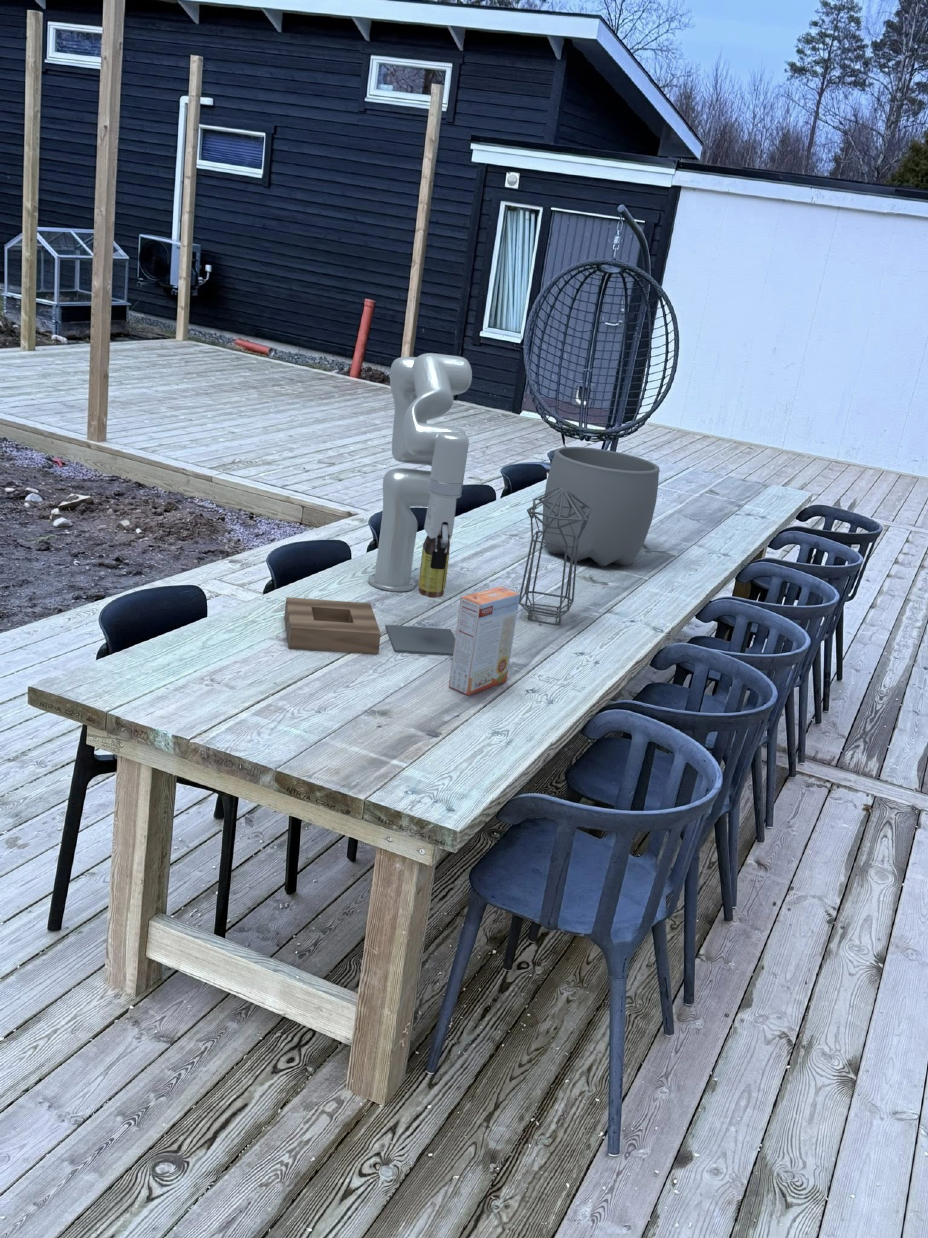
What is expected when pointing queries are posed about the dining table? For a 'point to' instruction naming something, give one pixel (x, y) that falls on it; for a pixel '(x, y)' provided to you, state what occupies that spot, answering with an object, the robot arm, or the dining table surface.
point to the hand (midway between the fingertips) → (434, 563)
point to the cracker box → (483, 640)
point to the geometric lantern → (577, 510)
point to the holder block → (331, 626)
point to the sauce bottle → (432, 571)
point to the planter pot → (602, 503)
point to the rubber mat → (421, 640)
